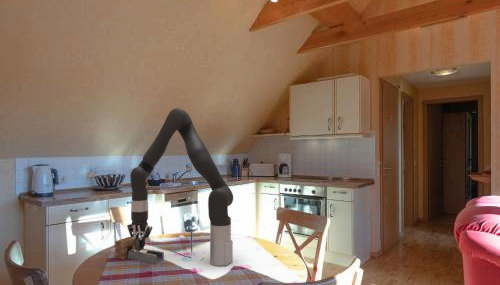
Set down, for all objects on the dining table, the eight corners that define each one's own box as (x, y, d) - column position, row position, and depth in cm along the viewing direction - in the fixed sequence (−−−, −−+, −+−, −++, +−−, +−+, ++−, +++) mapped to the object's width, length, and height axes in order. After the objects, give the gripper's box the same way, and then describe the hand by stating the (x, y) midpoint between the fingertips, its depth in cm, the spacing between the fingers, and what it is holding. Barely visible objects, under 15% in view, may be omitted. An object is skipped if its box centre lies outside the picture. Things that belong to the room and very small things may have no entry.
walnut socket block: (136, 253, 157) (136, 237, 157) (123, 259, 149) (123, 242, 149) (128, 252, 159) (128, 236, 159) (115, 257, 151) (115, 241, 151)
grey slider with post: (148, 255, 150) (148, 238, 150) (143, 257, 147) (144, 240, 148) (127, 251, 156) (127, 235, 156) (122, 253, 153) (122, 236, 153)
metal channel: (163, 259, 148) (163, 252, 148) (155, 263, 143) (155, 255, 143) (136, 254, 155) (136, 247, 155) (127, 258, 150) (128, 250, 150)
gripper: (157, 209, 151) (156, 246, 151) (134, 207, 157) (134, 243, 157) (145, 212, 144) (145, 251, 144) (122, 209, 150) (122, 247, 150)
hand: (139, 246), depth 151 cm, fingers closed on grey slider with post, 2 cm apart
